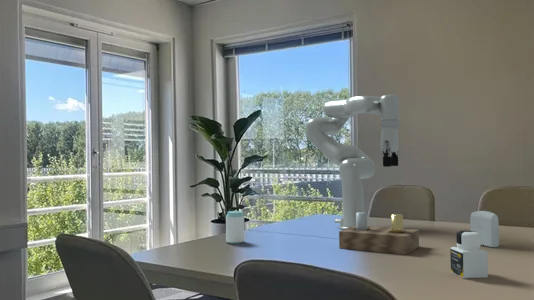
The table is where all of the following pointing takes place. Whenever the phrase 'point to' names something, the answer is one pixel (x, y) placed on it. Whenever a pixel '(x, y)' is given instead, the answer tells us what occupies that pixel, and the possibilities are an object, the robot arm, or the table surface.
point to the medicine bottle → (469, 256)
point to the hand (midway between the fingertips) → (390, 166)
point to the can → (234, 227)
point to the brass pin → (397, 223)
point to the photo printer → (486, 227)
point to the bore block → (379, 240)
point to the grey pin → (361, 221)
